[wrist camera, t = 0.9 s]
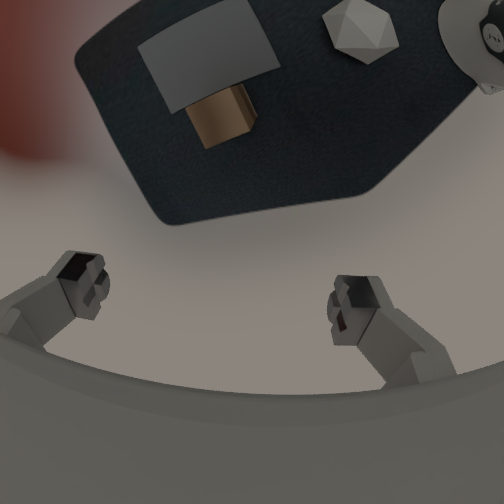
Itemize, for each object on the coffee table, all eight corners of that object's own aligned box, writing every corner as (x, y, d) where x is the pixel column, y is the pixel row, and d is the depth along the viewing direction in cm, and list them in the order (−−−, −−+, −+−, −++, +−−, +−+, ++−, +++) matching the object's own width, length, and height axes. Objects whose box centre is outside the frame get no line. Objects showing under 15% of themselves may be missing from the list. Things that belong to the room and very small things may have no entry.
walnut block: (242, 83, 30) (229, 87, 23) (257, 116, 33) (249, 131, 25) (208, 98, 32) (184, 108, 24) (223, 129, 35) (205, 149, 27)
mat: (243, -6, 22) (243, -7, 22) (280, 66, 29) (280, 66, 28) (138, 47, 27) (137, 47, 27) (173, 113, 33) (171, 113, 33)
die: (369, 73, 28) (423, 52, 19) (319, 66, 25) (375, 33, 16) (351, 26, 26) (398, -1, 17) (301, 15, 23) (346, -23, 14)
